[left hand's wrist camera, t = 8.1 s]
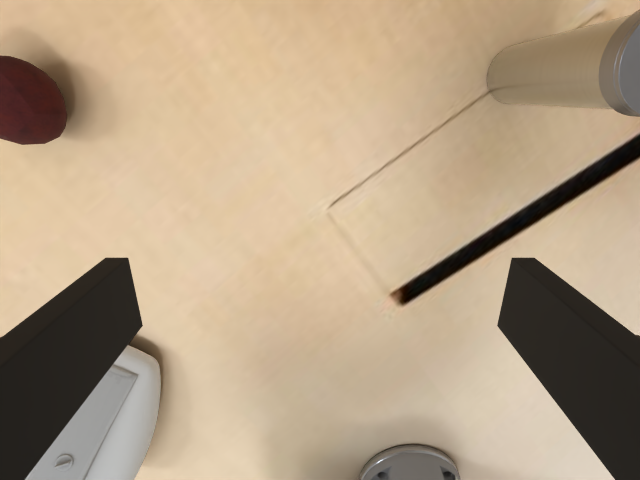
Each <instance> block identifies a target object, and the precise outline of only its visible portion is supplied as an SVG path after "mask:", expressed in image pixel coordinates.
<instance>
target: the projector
mask: <svg viewBox="0 0 640 480" xmlns="http://www.w3.org/2000/svg"><path fill="white" fill-rule="evenodd" d="M160 390H161V376H160V367H159V364H158V362H157V360H156V359H155V358H154V357H152V356H151V355H148V354H146V353H144V352H142V351H140V350H138V349H136V348H134V347H131V346H129V345H127V347H126V348H125V349H124V351H123V352H122V353H121V355H120V356H119V357H118V358H117V360H116V361H115V362H114V364H113V365H112V366H111V368H110V369H109V370H108V372H107V373H106V374H105V375H104V377H103V378H102V379H101V381H100V382H99V383H98V385H97V386H96V387H95V389H94V390H93V391H92V392H91V394H90V395H89V396H88V398H87V399H86V400H85V402H84V403H83V404H82V406H81V407H80V408H79V409H78V411H77V412H76V413H75V415H74V416H73V417H72V419H71V420H70V421H69V423H68V424H67V425H66V426H65V428H64V429H63V430H62V432H61V433H60V434H59V436H58V437H57V438H56V440H55V441H54V442H53V443H52V445H51V446H50V447H49V449H48V450H47V451H46V453H45V454H44V455H43V457H42V458H41V459H40V460H39V462H38V463H37V464H36V466H35V467H34V468H33V470H32V471H31V472H30V474H29V475H28V476H27V477H26V479H25V480H134V479H135V477H136V475H137V473H138V471H139V469H140V467H141V465H142V463H143V460H144V458H145V456H146V453H147V451H148V448H149V446H150V443H151V440H152V437H153V434H154V430H155V426H156V422H157V417H158V411H159V404H160Z"/></svg>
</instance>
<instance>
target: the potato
mask: <svg viewBox="0 0 640 480" xmlns="http://www.w3.org/2000/svg"><path fill="white" fill-rule="evenodd" d="M66 119H67V113H66V108H65V103H64V99H63V96H62V95H61V93H60V91H59V89H58V87H57V85H56V83H55V82H54V81H53V80H52V79H51V78H50V77H49V76H48V75H47V74H46V73H45V72H43V71H42V70H40V69H38V68H37V67H35V66H34V65H32V64H30V63H29V62H26V61H23V60H20V59H18V58H14V57H10V56H0V139H4V140H7V141H11V142H15V143H18V144H22V145H25V144H45V143H47V142H49V141H52V140H54V139H56V138H58V137H60V135H61V134H62V132H63V130H64V129H65V126H66Z"/></svg>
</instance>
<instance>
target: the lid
mask: <svg viewBox="0 0 640 480" xmlns="http://www.w3.org/2000/svg"><path fill="white" fill-rule="evenodd" d="M598 76H599V86H600V90H601V93H602V96H603V98H604V100H605V101H606V102H607V104H608V105H609V106H610V107H611V108H612V109H614V110H615V111H617V112H619V113H621V114H624V115H628V116H638V117H640V10H638V11H636V12H635V13H634V14H632V15H631V16H630V17H629V18H627V19H626V20H625V21H624V22H623V23H622V24H621V25H620V26H619V28H618V29H617V30H616V31H615V33H614V34H613V35H612V37H611V38H610V40H609V42H608V43H607V45H606V47H605V50H604V52H603V55H602V58H601V61H600V66H599V75H598Z"/></svg>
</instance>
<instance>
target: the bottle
mask: <svg viewBox="0 0 640 480" xmlns="http://www.w3.org/2000/svg"><path fill="white" fill-rule="evenodd" d="M630 16H631V15H629V16H625V17H621V18H617V19H614V20H610V21H606V22H602V23H598V24H594V25H590V26H586V27H582V28H578V29H574V30H570V31H567V32H563V33H559V34H555V35H551V36H547V37H543V38H539V39H535V40H531V41H527V42H523V43H520V44H516V45H512V46H509V47H507V48H505V49H504V50H502V51H501V52H500V53H499V54H498V55H497V56H496V57H495V58H494V59H493V61H492V63H491V65H490V67H489V70H488V73H487V86H488V90H489V92H490V94H491V95H492V96H493V98H494V99H496V100H497V101H499V102H501V103H504V104H518V105H537V106H557V107H577V108H597V109H612V108H611V107H610V106H609V105H608V104H607V102H606V101H605V100H604V98H603V96H602V93H601V90H600V86H599V76H598V75H599V66H600V61H601V58H602V55H603V52H604V50H605V47H606V45H607V43H608V42H609V40H610V38H611V37H612V35H613V34H614V33H615V31H616V30H617V29H618V28H619V26H620V25H621V24H622V23H623V22H624V21H625V20H626V19H627V18H629V17H630Z"/></svg>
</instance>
